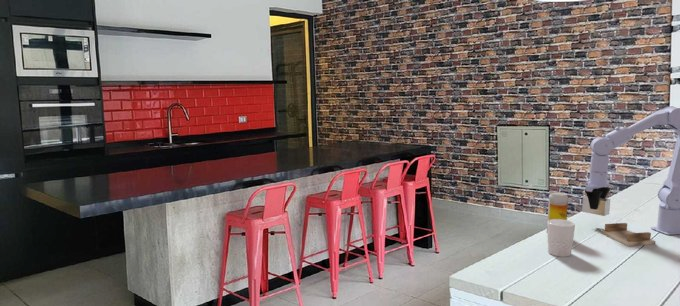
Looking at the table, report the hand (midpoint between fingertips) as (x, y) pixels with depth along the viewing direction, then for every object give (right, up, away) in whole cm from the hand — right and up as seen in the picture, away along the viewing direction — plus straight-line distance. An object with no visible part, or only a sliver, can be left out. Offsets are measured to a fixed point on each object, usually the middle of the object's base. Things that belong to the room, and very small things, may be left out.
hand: (596, 207), depth 192 cm
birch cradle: (+4, -9, -12) cm, 16 cm away
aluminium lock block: (0, -2, 0) cm, 2 cm away
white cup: (-24, -12, -26) cm, 38 cm away
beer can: (-18, -9, -9) cm, 22 cm away
